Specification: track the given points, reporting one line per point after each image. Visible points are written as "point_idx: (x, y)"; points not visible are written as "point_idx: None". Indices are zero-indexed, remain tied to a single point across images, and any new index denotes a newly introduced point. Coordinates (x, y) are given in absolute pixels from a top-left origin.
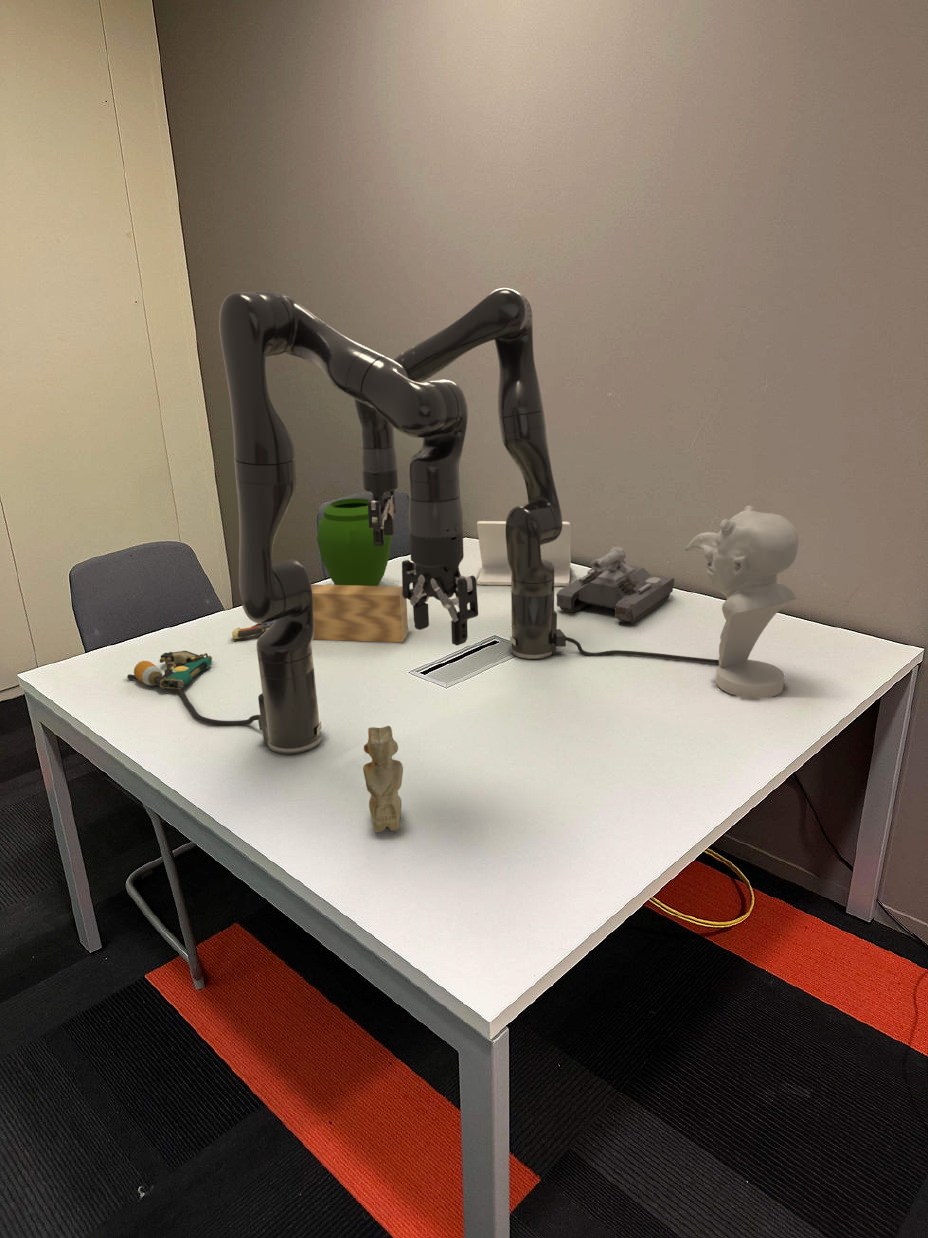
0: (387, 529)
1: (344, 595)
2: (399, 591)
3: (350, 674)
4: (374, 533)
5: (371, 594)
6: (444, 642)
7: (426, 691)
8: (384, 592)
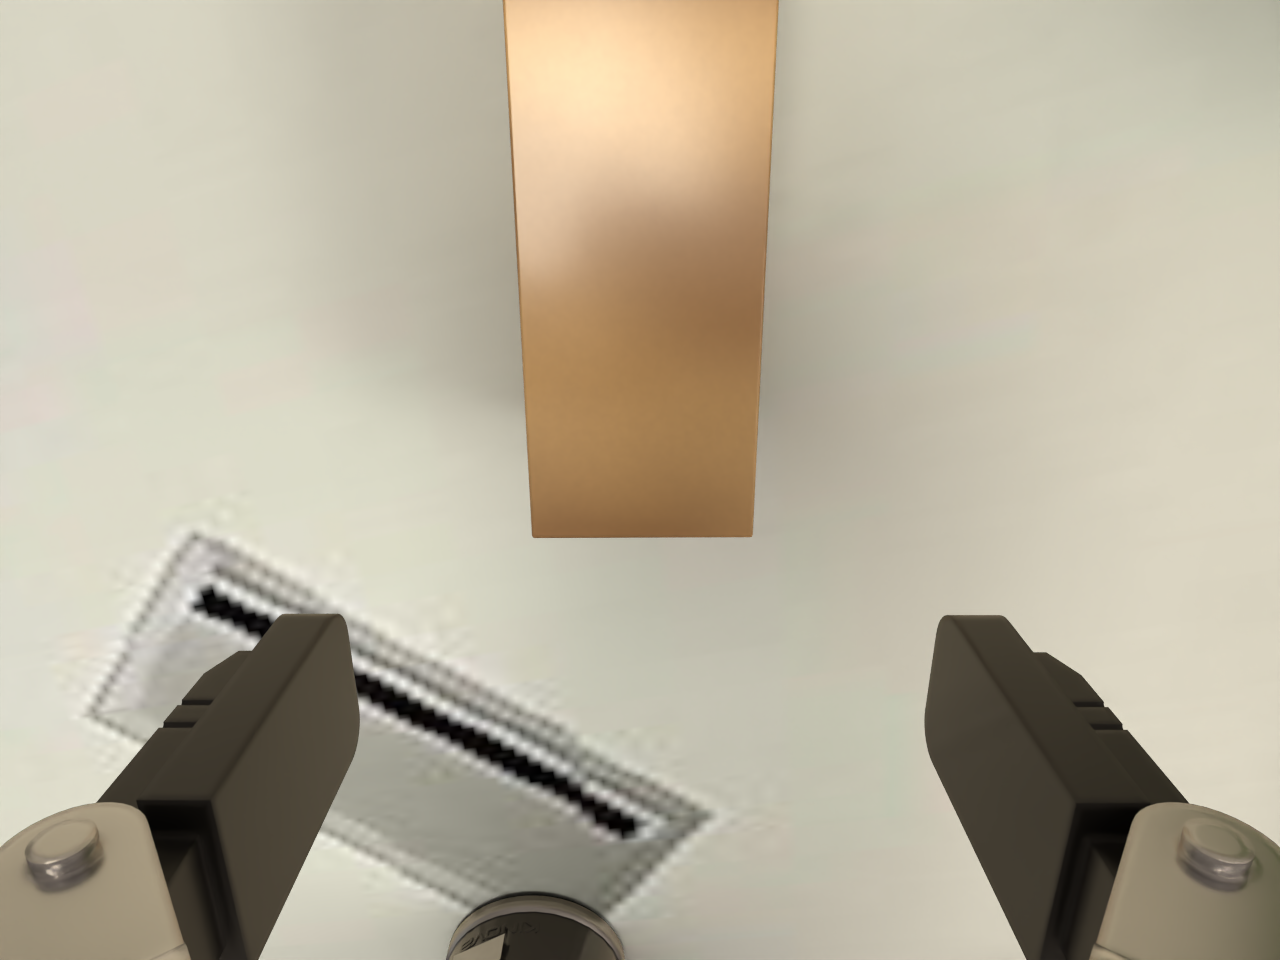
0: (970, 726)
1: (506, 28)
2: (630, 515)
3: (74, 245)
4: (117, 784)
5: (528, 303)
6: (594, 624)
7: (26, 647)
8: (591, 403)
